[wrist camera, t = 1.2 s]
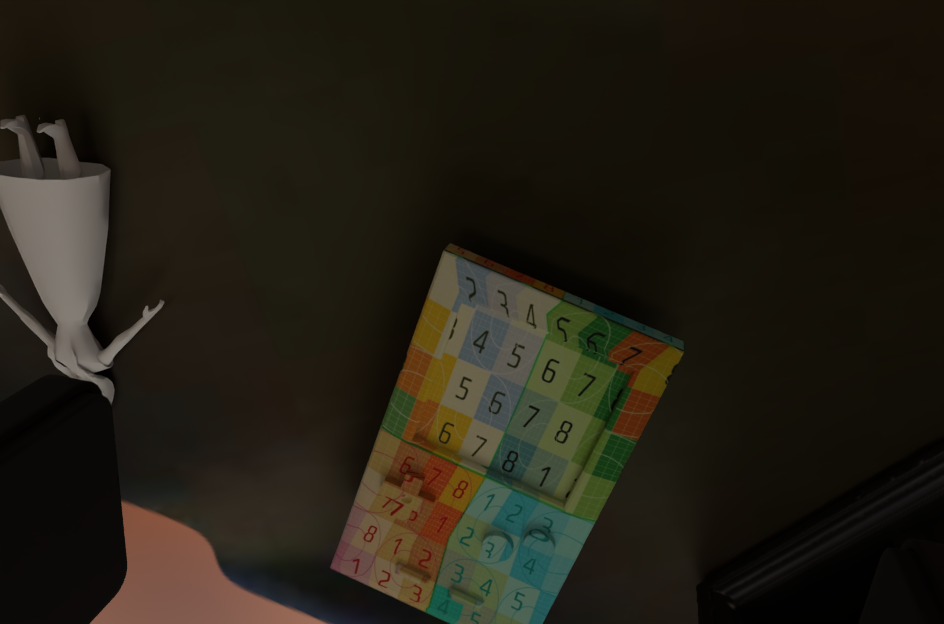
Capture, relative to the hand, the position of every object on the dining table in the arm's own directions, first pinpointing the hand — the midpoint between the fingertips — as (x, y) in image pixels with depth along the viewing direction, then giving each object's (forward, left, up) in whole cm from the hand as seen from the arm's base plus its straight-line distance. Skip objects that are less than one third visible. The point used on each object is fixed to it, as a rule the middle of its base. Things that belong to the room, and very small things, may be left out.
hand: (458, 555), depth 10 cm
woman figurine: (-16, -26, -30) cm, 43 cm away
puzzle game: (+7, -15, -30) cm, 34 cm away
